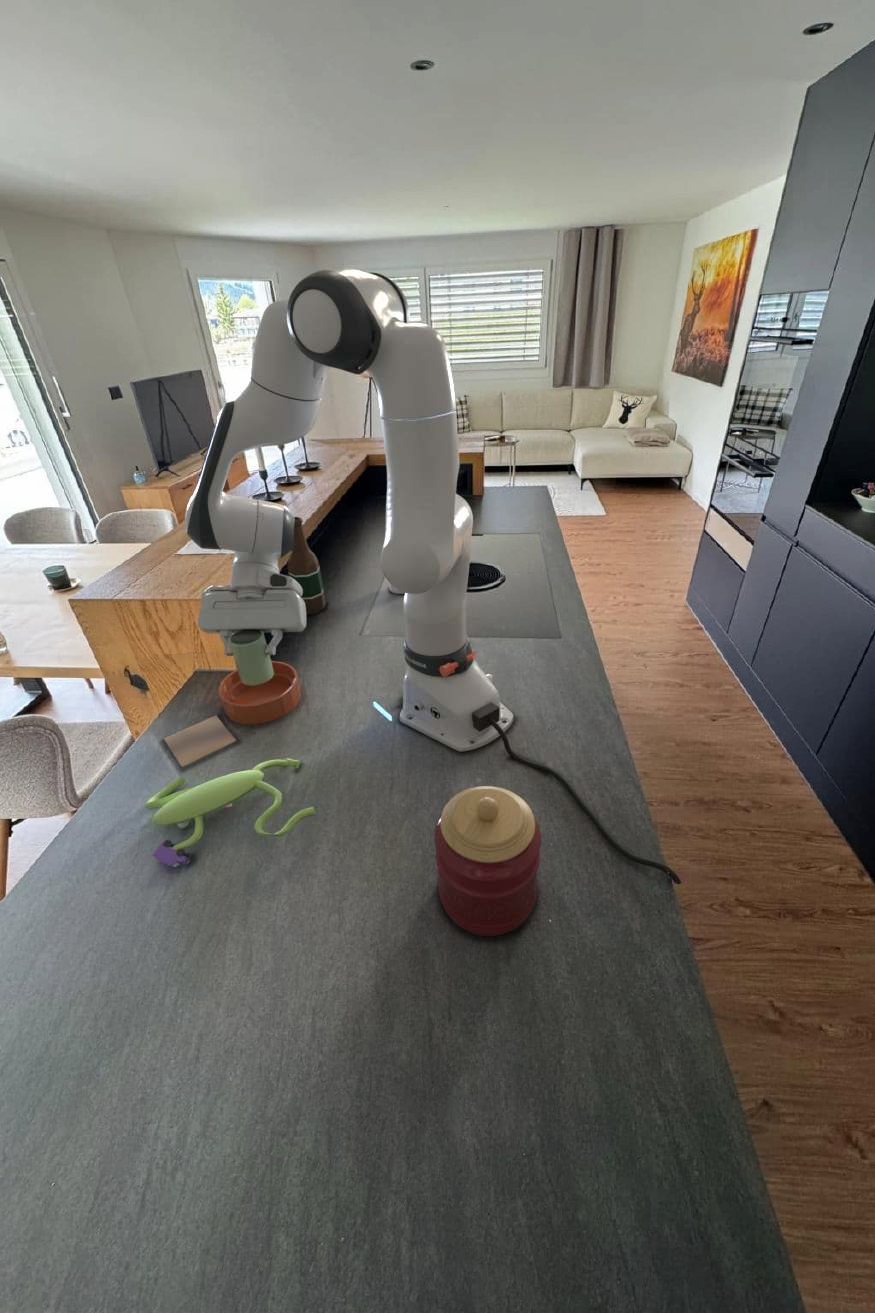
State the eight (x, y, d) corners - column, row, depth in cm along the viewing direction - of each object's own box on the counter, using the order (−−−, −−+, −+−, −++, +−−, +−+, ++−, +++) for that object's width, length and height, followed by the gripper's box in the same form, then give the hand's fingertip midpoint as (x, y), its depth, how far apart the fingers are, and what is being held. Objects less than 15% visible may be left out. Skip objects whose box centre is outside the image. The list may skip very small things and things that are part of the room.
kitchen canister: (476, 836, 82) (475, 747, 72) (554, 884, 75) (564, 792, 65) (418, 900, 74) (408, 809, 64) (500, 960, 67) (503, 869, 57)
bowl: (315, 703, 110) (311, 683, 108) (244, 737, 103) (237, 717, 100) (281, 672, 120) (276, 652, 118) (213, 701, 113) (206, 681, 110)
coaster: (237, 743, 102) (236, 740, 101) (182, 769, 96) (181, 767, 96) (216, 717, 108) (215, 715, 108) (164, 741, 103) (163, 738, 103)
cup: (280, 676, 107) (269, 636, 102) (248, 690, 104) (236, 649, 99) (265, 662, 112) (254, 623, 107) (235, 675, 108) (222, 636, 103)
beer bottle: (290, 612, 143) (270, 522, 130) (307, 599, 149) (289, 511, 136) (316, 617, 140) (298, 525, 127) (332, 603, 146) (317, 514, 133)
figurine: (319, 849, 81) (312, 824, 78) (126, 884, 78) (112, 859, 75) (318, 762, 96) (312, 738, 93) (157, 788, 93) (145, 764, 90)
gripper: (194, 580, 105) (188, 652, 102) (300, 577, 103) (296, 650, 101) (210, 591, 111) (205, 659, 108) (310, 588, 109) (307, 657, 107)
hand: (250, 654), depth 104 cm, fingers closed on cup, 6 cm apart
